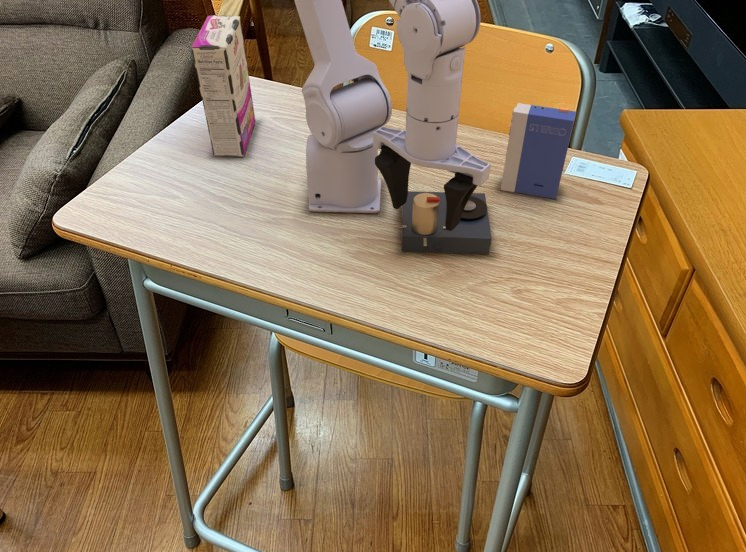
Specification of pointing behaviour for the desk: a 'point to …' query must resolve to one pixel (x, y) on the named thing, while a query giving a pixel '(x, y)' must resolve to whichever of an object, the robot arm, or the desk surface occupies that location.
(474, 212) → the burner
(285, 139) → the desk surface
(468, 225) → the hot plate
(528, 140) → the walkman
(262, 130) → the desk surface
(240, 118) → the candy bar box
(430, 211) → the knob
